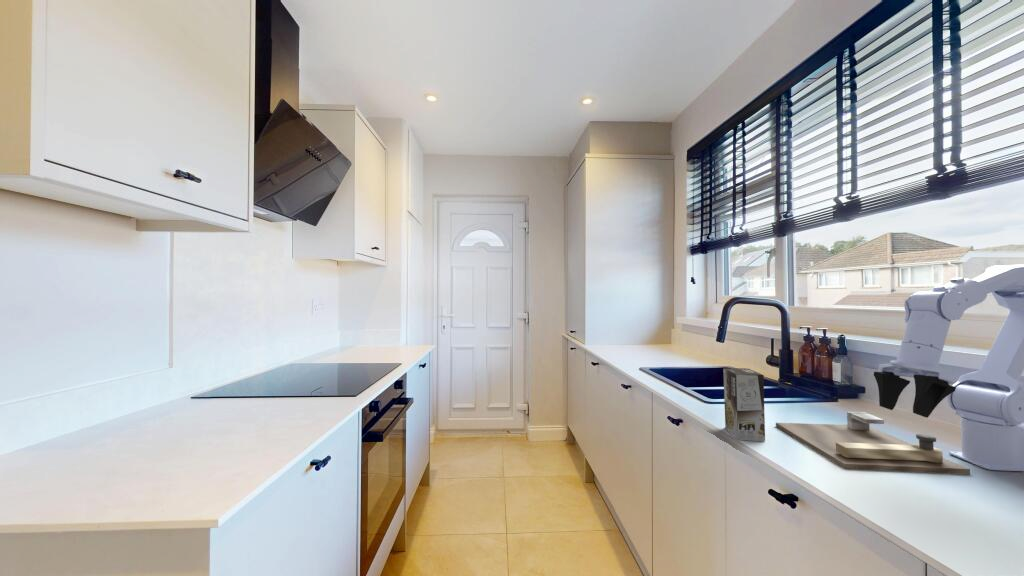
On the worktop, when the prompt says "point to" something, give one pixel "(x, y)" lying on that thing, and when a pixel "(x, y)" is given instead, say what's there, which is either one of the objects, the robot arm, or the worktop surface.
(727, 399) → the coffee box
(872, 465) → the base board
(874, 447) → the link
